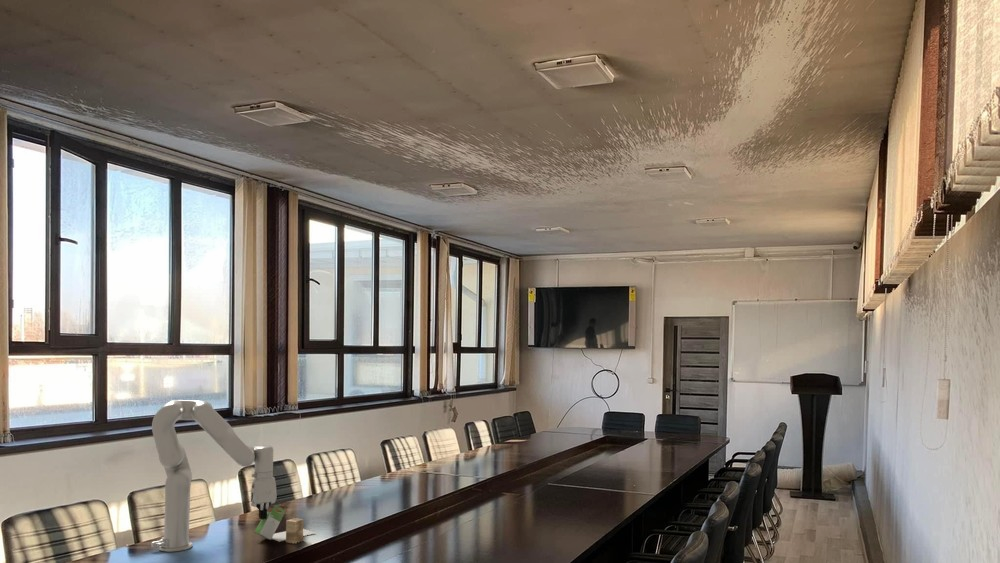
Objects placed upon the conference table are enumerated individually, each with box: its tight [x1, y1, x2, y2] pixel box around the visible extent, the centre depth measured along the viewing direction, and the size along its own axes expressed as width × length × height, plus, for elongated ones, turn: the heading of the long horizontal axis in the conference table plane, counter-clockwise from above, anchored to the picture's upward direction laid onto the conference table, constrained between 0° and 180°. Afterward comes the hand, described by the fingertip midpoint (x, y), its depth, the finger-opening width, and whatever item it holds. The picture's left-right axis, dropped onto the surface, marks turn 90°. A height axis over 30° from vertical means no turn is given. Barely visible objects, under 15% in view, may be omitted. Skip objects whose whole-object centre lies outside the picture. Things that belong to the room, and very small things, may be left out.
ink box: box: [254, 504, 287, 541], centre depth 323 cm, size 7×4×13 cm
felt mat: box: [271, 528, 316, 543], centre depth 329 cm, size 18×12×1 cm, turn 135°
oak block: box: [285, 517, 304, 544], centre depth 320 cm, size 5×5×9 cm
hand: (262, 518), depth 320 cm, fingers closed
